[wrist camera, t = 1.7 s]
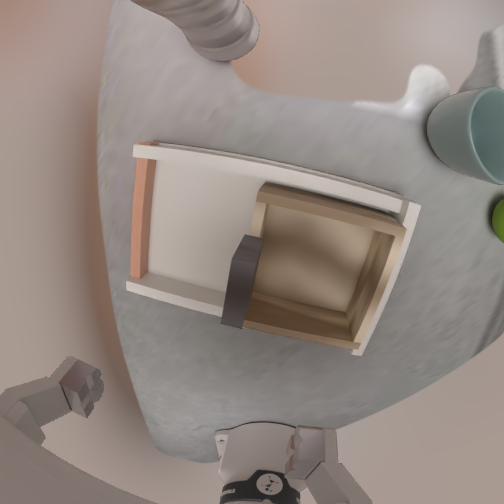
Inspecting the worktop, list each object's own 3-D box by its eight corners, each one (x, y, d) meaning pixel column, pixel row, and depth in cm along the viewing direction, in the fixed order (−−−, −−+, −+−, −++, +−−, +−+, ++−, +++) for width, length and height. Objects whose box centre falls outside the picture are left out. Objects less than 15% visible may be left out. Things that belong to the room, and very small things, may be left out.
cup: (447, 185, 25) (501, 205, 16) (403, 128, 24) (451, 123, 15) (485, 141, 22) (542, 147, 13) (444, 84, 21) (497, 68, 12)
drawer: (349, 315, 31) (366, 387, 20) (239, 292, 31) (214, 359, 21) (385, 211, 26) (432, 251, 16) (261, 180, 27) (241, 202, 17)
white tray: (353, 326, 32) (361, 355, 27) (142, 276, 34) (119, 297, 29) (400, 194, 26) (421, 205, 21) (153, 141, 28) (126, 142, 23)
